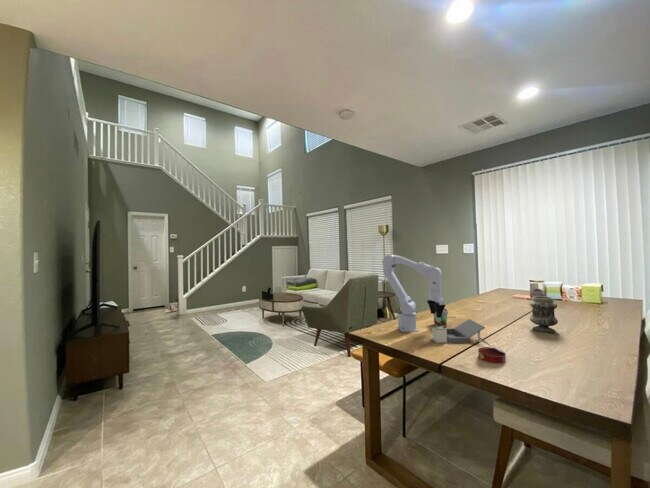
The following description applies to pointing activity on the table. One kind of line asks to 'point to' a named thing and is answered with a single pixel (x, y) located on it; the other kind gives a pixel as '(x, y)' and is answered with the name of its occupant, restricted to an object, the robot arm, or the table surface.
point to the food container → (441, 319)
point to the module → (439, 334)
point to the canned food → (491, 354)
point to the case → (464, 332)
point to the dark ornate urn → (543, 313)
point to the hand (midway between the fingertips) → (436, 315)
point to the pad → (436, 342)
